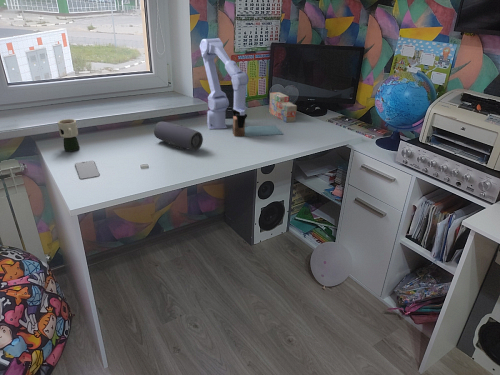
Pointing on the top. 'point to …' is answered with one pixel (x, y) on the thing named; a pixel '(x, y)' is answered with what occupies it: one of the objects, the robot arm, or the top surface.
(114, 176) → the top surface
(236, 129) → the walnut block
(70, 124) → the character mug
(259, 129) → the teal-grey mat
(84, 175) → the smartphone
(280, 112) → the stack of blocks
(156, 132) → the bluetooth speaker
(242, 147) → the top surface
